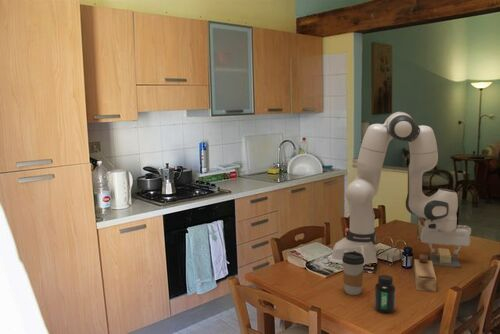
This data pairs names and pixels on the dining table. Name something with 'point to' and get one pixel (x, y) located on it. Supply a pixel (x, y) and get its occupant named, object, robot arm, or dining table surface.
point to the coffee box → (420, 226)
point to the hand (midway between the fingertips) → (444, 253)
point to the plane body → (424, 274)
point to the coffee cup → (353, 272)
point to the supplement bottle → (385, 294)
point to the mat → (436, 262)
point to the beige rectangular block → (444, 256)
